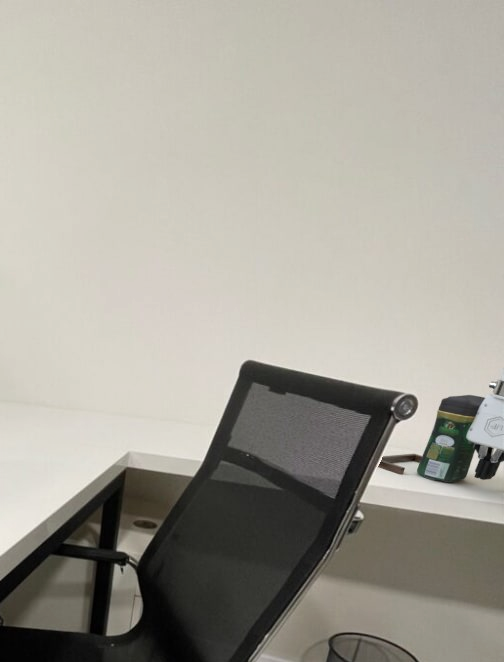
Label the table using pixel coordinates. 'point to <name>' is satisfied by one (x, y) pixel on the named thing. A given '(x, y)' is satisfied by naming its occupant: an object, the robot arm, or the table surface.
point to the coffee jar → (450, 440)
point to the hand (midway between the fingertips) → (482, 477)
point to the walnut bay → (388, 460)
